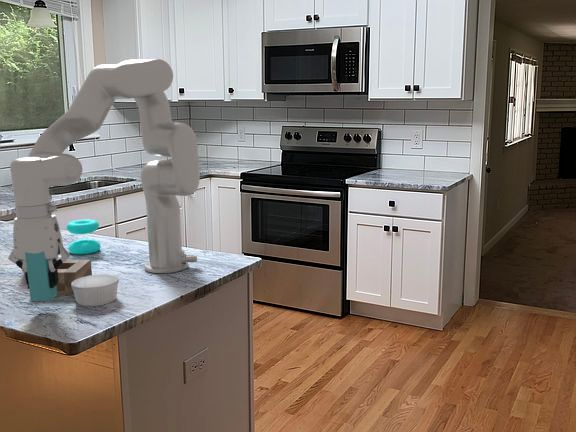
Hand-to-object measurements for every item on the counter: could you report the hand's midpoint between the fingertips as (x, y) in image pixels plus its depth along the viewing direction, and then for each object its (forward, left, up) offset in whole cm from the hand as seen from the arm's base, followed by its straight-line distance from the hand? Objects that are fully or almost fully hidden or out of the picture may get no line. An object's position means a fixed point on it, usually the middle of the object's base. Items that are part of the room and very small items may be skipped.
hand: (42, 285), depth 146 cm
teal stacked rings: (+9, -55, -6) cm, 57 cm away
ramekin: (-10, -7, -6) cm, 14 cm away
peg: (0, 0, -3) cm, 3 cm away
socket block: (+2, -17, -6) cm, 19 cm away
